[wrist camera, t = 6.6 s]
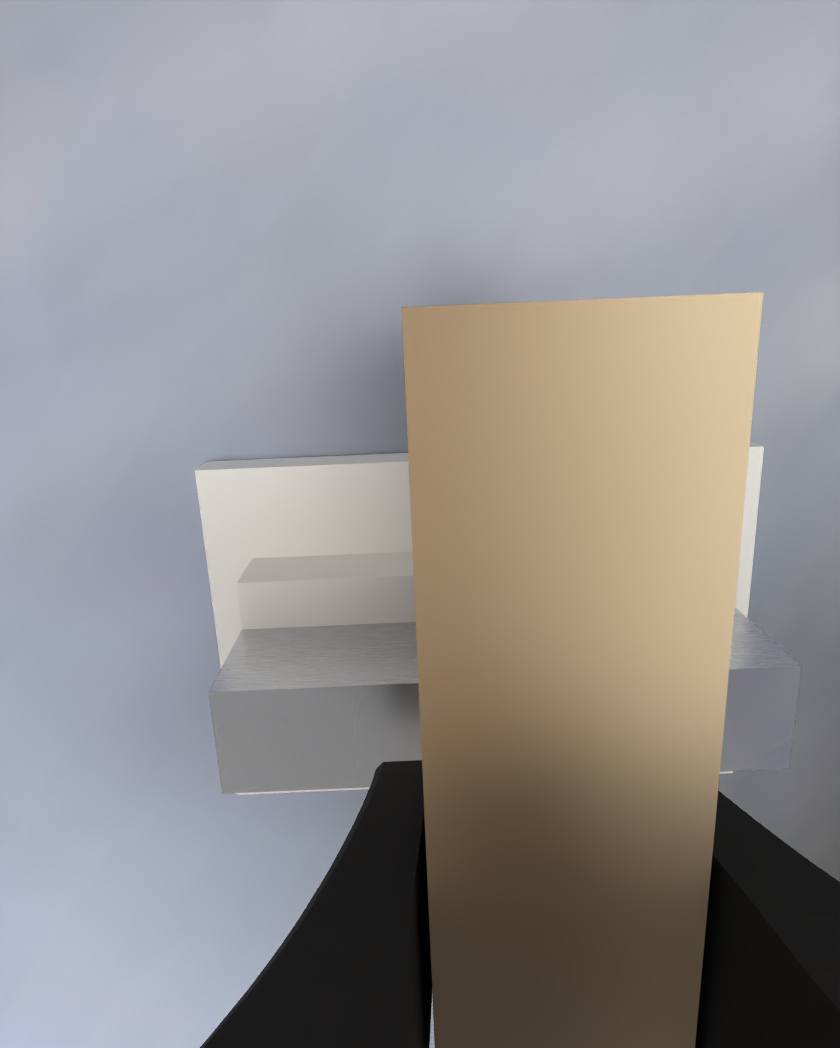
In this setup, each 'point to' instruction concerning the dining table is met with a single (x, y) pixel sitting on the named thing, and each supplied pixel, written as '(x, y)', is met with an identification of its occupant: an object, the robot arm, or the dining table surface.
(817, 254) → the dining table surface
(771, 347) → the dining table surface
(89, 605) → the dining table surface
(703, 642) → the oak bar
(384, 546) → the ridge stand
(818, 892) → the robot arm
